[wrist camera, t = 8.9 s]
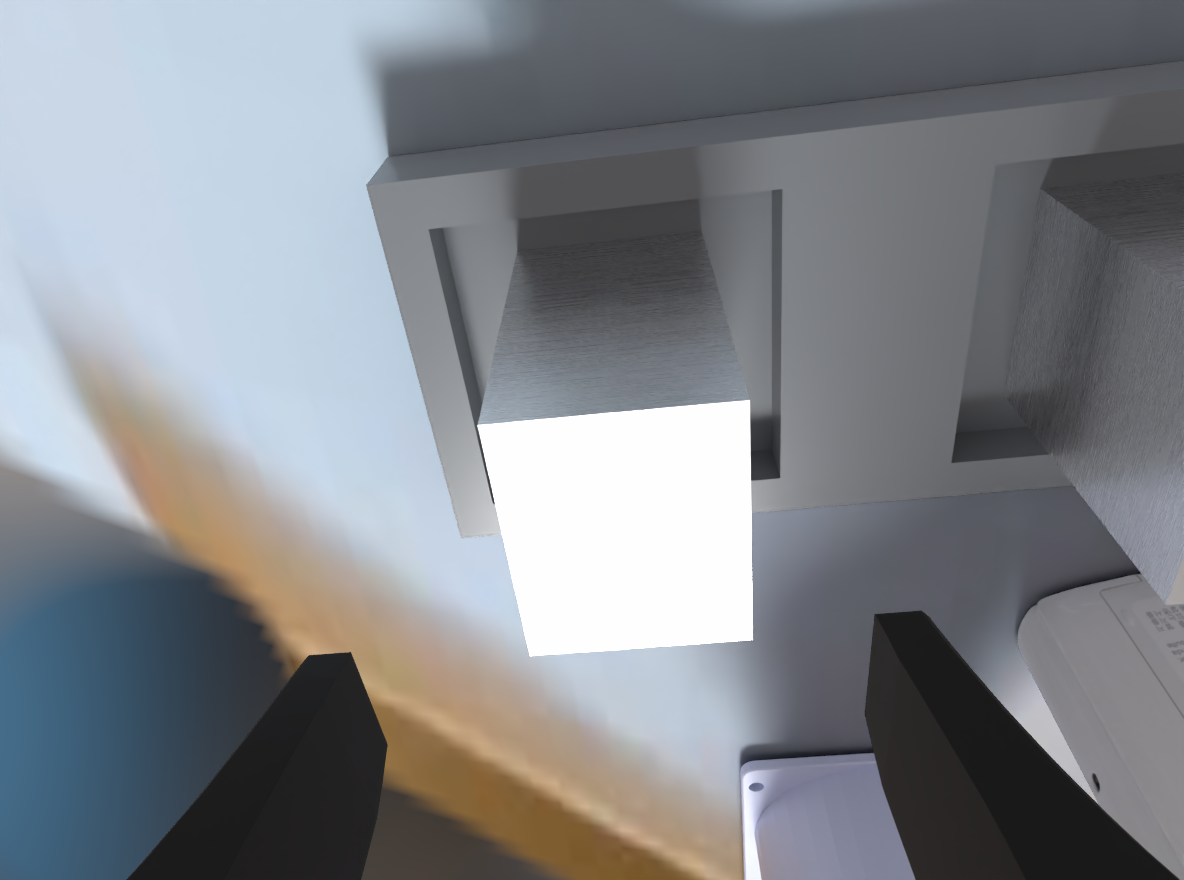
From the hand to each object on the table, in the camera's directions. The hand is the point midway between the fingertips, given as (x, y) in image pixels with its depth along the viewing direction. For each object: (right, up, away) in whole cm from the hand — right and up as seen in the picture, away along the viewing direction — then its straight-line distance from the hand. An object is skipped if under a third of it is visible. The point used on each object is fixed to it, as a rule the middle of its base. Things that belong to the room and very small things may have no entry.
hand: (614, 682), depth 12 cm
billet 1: (0, +6, +8) cm, 10 cm away
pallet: (+6, +7, +8) cm, 12 cm away
